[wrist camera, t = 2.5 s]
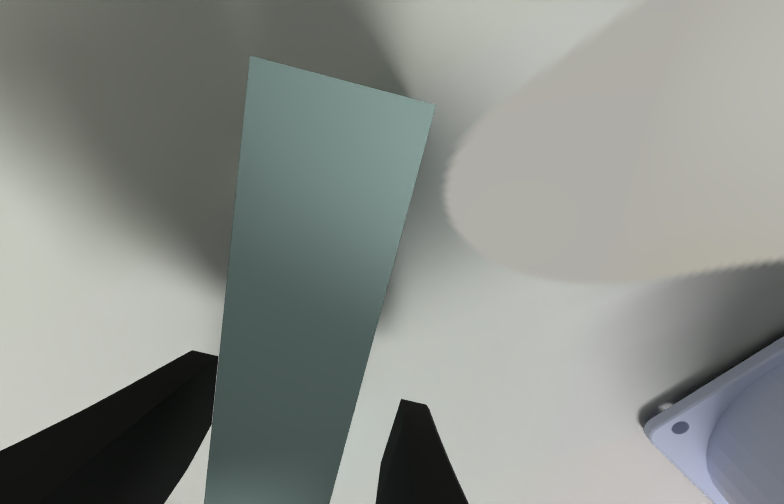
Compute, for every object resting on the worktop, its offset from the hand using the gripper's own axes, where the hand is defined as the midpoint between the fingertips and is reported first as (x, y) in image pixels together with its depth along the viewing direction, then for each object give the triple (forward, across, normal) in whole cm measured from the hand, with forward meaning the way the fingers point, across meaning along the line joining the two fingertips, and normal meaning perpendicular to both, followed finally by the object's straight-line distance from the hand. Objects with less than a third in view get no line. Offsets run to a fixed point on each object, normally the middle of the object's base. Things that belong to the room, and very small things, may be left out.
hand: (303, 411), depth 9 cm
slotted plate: (+3, 0, 0) cm, 3 cm away
